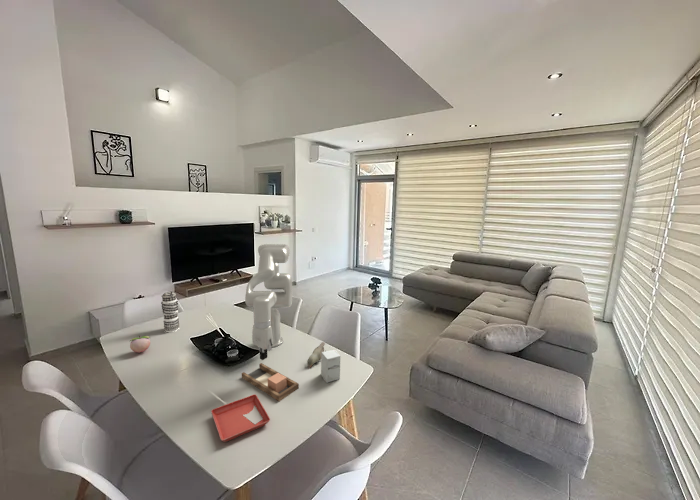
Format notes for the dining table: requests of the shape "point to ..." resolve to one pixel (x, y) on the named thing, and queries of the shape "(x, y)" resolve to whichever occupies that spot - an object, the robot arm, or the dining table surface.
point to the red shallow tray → (238, 417)
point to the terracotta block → (277, 382)
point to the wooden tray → (261, 381)
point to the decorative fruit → (140, 344)
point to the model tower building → (170, 312)
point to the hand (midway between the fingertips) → (263, 358)
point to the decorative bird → (316, 355)
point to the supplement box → (330, 365)
